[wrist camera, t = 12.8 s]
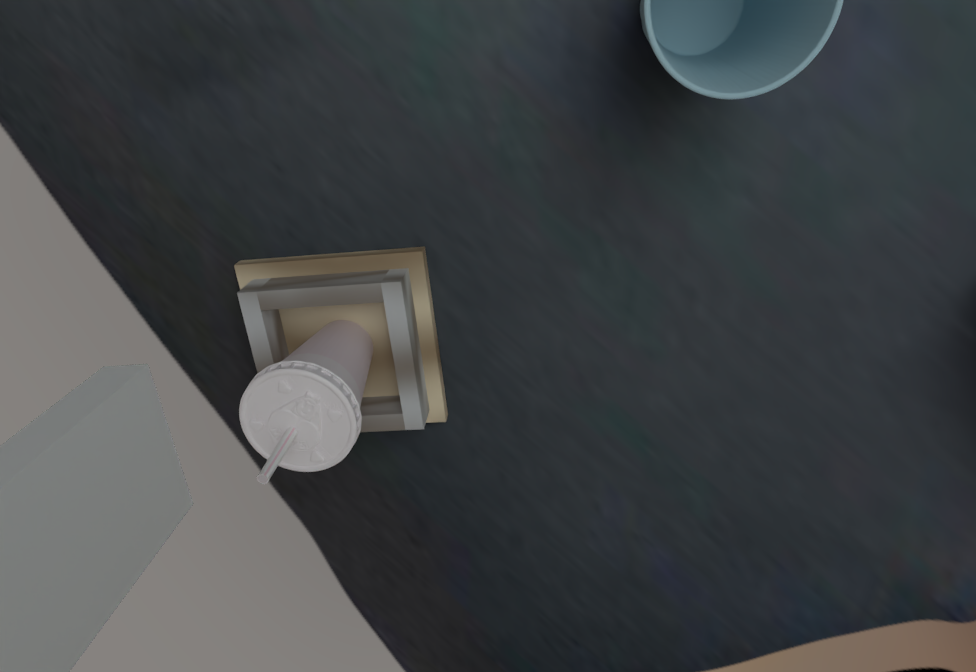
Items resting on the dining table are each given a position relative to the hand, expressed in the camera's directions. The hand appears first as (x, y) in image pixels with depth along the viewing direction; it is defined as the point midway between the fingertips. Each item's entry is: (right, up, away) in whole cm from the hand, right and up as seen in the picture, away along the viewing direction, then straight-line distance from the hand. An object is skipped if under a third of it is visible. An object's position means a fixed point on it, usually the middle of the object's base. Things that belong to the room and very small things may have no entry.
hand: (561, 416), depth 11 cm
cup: (+10, +19, +26) cm, 33 cm away
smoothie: (-10, +1, +34) cm, 36 cm away
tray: (-10, +1, +35) cm, 37 cm away
